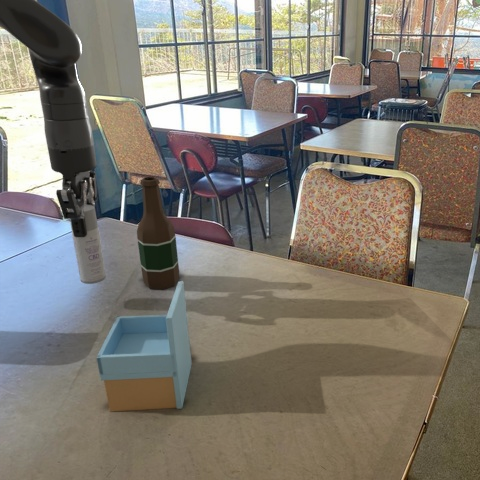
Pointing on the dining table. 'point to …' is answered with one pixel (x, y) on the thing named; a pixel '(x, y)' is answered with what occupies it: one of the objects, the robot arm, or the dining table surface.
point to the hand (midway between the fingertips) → (85, 230)
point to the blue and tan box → (147, 359)
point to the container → (89, 250)
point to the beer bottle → (156, 240)
